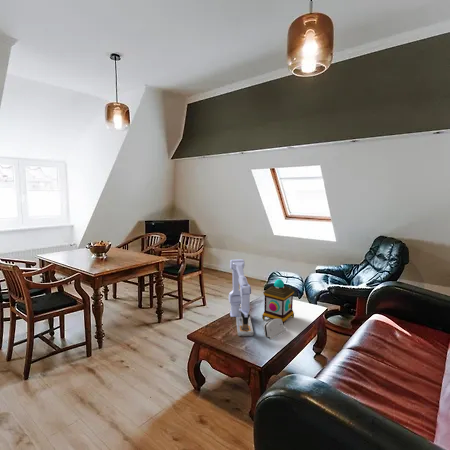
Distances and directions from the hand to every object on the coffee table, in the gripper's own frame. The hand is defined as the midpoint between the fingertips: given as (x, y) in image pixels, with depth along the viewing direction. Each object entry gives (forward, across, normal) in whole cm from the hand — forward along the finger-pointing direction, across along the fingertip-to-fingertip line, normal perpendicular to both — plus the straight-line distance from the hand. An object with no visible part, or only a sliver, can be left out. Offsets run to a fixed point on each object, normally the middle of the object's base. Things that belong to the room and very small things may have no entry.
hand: (245, 322), depth 198 cm
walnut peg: (+3, 0, 0) cm, 4 cm away
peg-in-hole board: (+6, -6, 0) cm, 9 cm away
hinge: (+7, +2, +19) cm, 21 cm away
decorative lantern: (+7, -19, +26) cm, 33 cm away
